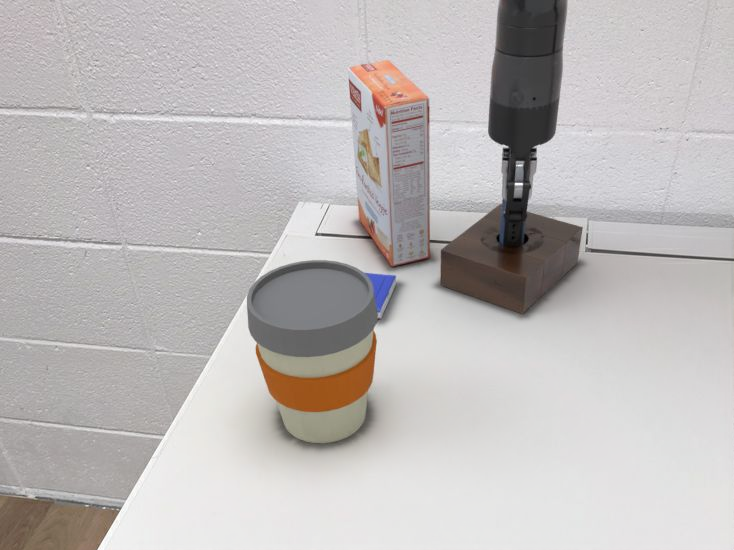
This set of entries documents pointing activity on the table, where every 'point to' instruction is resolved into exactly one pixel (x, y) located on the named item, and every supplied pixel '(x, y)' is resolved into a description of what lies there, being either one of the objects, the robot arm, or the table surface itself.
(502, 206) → the peg
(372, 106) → the cracker box
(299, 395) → the reusable coffee cup
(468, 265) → the walnut block
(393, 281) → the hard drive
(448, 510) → the table surface
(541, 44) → the robot arm
